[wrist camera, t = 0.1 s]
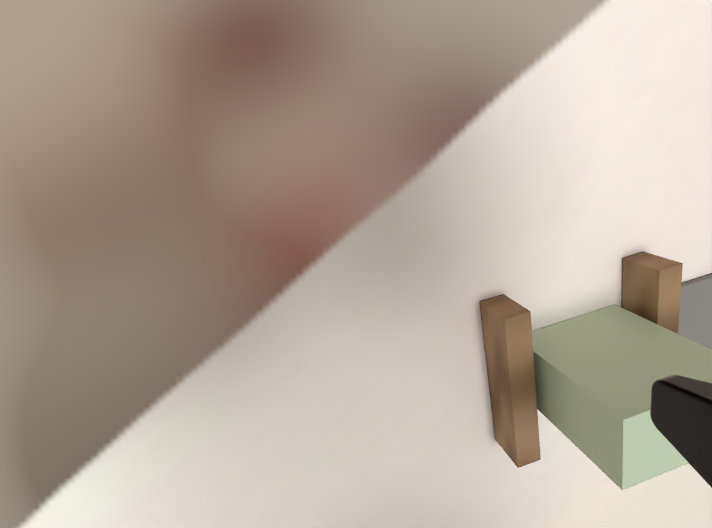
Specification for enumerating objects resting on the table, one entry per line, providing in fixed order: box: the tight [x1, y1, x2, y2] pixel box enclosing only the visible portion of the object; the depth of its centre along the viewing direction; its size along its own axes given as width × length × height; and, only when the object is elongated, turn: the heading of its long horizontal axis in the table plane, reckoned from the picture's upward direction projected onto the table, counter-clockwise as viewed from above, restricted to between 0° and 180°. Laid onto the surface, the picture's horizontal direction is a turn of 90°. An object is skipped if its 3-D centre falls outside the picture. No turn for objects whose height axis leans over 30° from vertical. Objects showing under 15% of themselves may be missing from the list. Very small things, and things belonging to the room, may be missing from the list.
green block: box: [532, 304, 712, 490], centre depth 23 cm, size 4×7×8 cm, turn 102°
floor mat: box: [678, 274, 712, 350], centre depth 30 cm, size 14×8×1 cm, turn 12°
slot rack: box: [480, 252, 683, 468], centre depth 25 cm, size 10×11×2 cm
